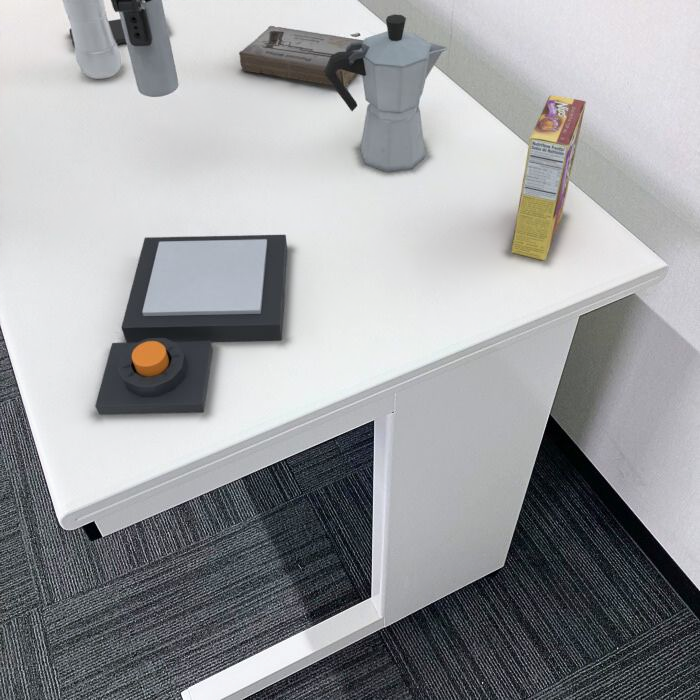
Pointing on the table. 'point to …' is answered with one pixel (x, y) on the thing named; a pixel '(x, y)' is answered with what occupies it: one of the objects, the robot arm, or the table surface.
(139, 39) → the robot arm
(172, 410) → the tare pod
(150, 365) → the tare button
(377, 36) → the coffee maker
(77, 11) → the plastic bottle
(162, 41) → the grey hollow tube
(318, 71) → the box
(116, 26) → the phone
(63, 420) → the table surface
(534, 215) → the candy box
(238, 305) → the scale
